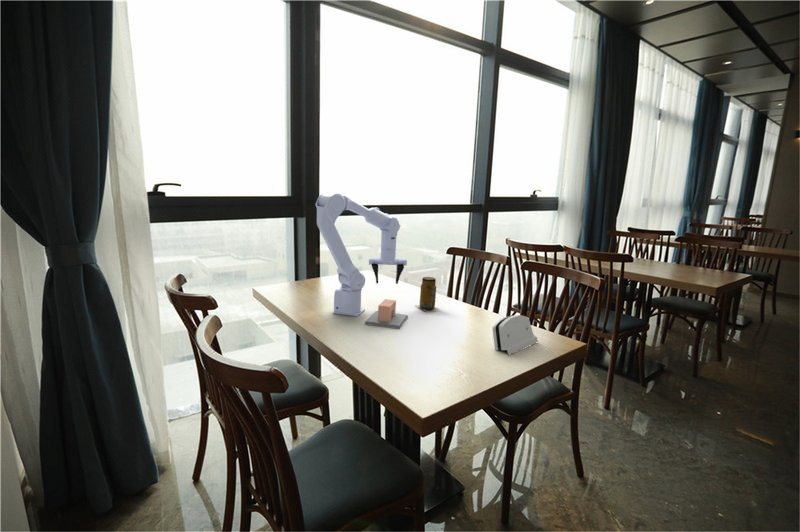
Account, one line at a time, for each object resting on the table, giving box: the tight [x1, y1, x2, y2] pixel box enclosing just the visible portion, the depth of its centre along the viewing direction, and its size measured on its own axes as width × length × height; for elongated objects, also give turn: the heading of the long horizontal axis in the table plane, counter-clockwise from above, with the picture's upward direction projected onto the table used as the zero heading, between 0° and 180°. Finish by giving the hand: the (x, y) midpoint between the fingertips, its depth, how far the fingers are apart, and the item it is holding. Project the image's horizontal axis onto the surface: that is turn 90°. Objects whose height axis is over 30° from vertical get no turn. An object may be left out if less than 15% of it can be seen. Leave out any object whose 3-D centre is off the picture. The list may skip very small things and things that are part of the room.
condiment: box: [415, 276, 441, 313], centre depth 149 cm, size 7×8×12 cm
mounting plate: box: [364, 310, 408, 330], centre depth 133 cm, size 12×12×1 cm
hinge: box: [492, 314, 539, 355], centre depth 117 cm, size 17×5×10 cm, turn 132°
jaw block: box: [377, 298, 397, 322], centre depth 132 cm, size 4×8×6 cm, turn 166°
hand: (386, 283), depth 148 cm, fingers open, 7 cm apart
